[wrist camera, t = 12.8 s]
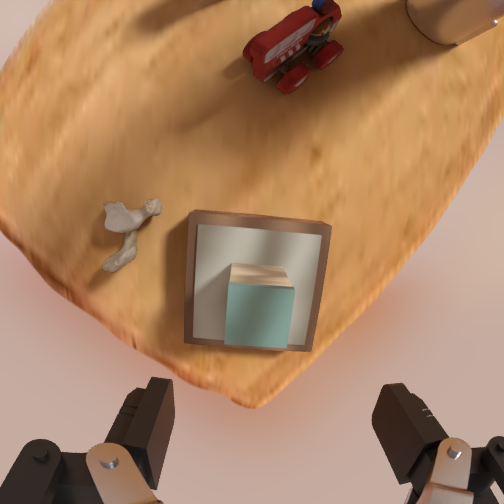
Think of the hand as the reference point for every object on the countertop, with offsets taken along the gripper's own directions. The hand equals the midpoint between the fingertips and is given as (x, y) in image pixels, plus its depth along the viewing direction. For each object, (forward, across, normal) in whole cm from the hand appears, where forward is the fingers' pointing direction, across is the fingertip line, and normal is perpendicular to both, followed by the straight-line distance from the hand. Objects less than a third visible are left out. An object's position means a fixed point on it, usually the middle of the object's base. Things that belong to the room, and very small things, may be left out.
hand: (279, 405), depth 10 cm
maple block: (+20, 0, +3) cm, 21 cm away
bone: (+25, +14, -3) cm, 29 cm away
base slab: (+25, 0, +3) cm, 25 cm away
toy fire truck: (+25, -2, -23) cm, 35 cm away
